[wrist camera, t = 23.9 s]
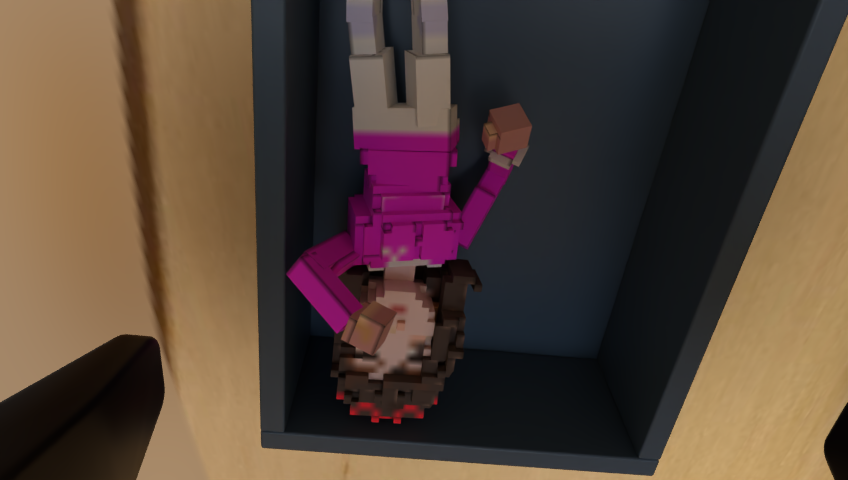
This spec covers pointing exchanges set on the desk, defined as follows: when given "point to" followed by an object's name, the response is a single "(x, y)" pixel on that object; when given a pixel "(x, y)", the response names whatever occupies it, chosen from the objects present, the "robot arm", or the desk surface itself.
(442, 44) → the character figurine
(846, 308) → the desk surface
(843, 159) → the desk surface
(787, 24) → the bin
